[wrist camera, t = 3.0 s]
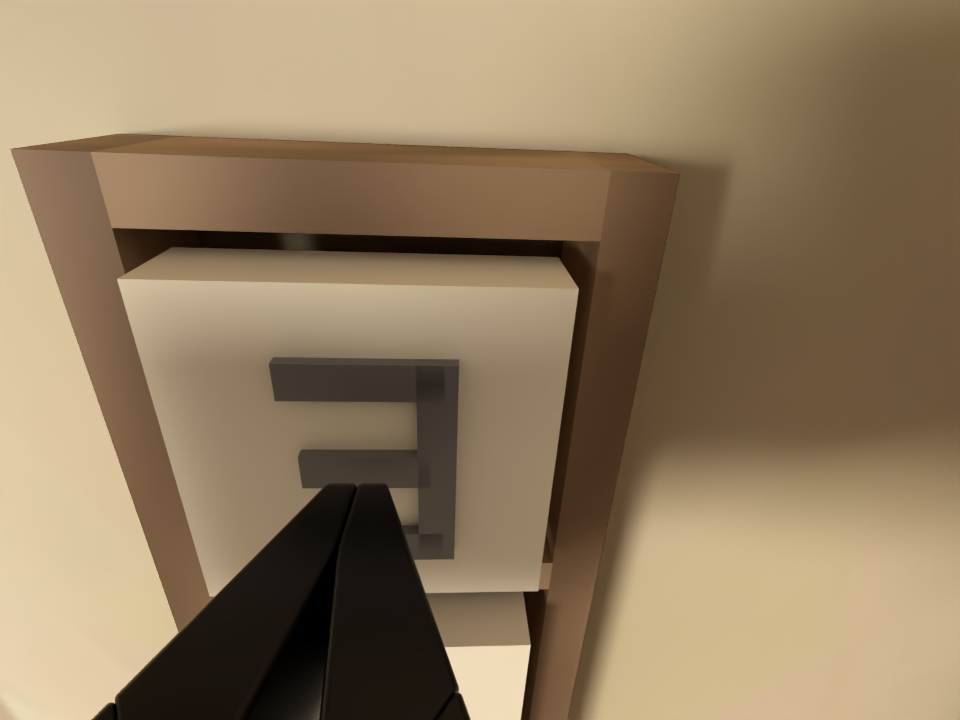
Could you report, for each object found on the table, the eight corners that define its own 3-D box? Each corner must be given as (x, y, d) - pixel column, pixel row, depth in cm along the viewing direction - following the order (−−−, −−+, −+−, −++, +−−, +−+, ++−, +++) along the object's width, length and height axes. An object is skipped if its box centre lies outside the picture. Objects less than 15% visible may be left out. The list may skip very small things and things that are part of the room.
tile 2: (521, 583, 12) (532, 654, 10) (504, 730, 15) (511, 803, 13) (252, 587, 12) (221, 662, 10) (286, 737, 14) (267, 814, 13)
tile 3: (558, 256, 8) (582, 294, 7) (527, 531, 11) (539, 600, 10) (172, 247, 8) (108, 283, 6) (239, 533, 11) (205, 606, 9)
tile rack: (627, 153, 10) (679, 173, 7) (523, 800, 21) (532, 886, 18) (118, 134, 9) (10, 148, 7) (291, 810, 20) (272, 900, 18)
